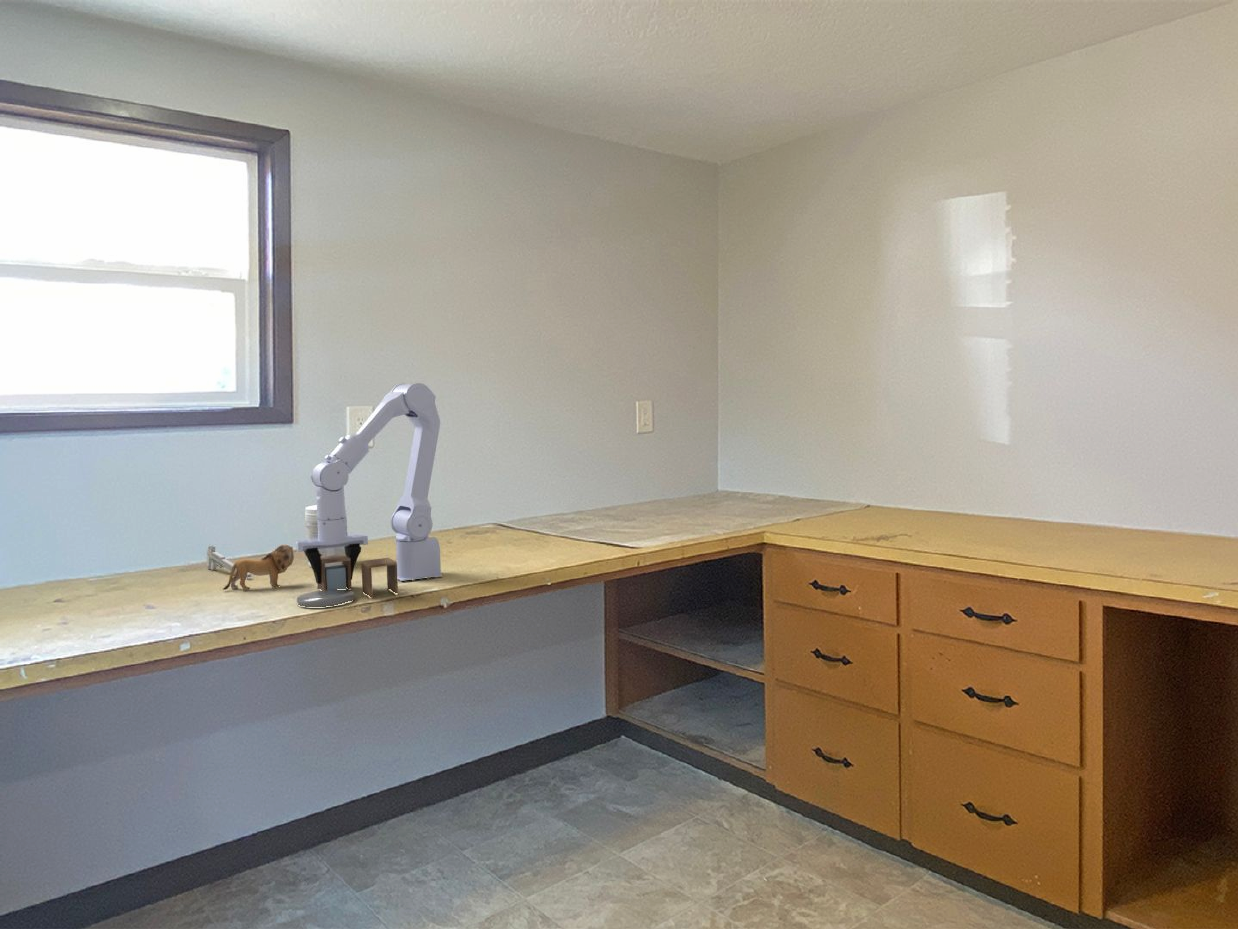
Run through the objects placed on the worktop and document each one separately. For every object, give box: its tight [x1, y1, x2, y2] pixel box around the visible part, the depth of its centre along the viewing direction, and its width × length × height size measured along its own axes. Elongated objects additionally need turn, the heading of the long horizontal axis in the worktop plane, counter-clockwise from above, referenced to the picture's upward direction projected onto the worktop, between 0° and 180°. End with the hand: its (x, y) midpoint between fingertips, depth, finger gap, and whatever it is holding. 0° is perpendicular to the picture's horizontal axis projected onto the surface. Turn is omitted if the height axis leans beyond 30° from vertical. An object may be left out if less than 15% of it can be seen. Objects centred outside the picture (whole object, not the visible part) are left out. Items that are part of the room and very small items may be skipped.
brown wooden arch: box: [317, 554, 353, 590], centre depth 182 cm, size 6×6×7 cm
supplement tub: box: [304, 504, 349, 568], centre depth 208 cm, size 10×10×15 cm
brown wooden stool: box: [360, 557, 399, 597], centre depth 177 cm, size 6×6×7 cm
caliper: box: [206, 544, 254, 580], centre depth 200 cm, size 20×1×6 cm, turn 51°
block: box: [325, 565, 347, 590], centre depth 182 cm, size 4×4×5 cm
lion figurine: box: [222, 544, 295, 591], centre depth 185 cm, size 15×5×9 cm, turn 120°
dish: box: [296, 589, 355, 607], centre depth 172 cm, size 11×11×1 cm
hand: (334, 581), depth 182 cm, fingers closed on brown wooden arch, 6 cm apart
